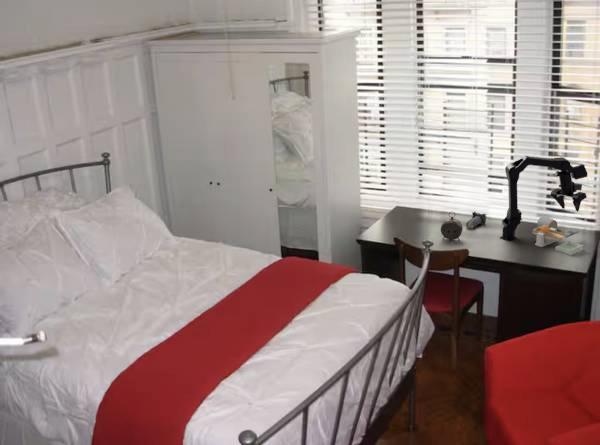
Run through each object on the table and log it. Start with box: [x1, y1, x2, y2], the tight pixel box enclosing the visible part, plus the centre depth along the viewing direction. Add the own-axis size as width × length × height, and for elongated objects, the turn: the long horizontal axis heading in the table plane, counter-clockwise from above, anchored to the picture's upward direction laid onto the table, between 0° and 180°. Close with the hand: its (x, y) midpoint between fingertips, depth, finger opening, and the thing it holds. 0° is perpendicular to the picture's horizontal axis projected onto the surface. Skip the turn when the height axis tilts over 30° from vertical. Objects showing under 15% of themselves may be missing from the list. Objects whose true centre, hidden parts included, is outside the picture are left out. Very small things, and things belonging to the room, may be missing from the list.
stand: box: [534, 228, 557, 248], centre depth 357 cm, size 12×4×6 cm, turn 126°
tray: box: [554, 240, 584, 257], centre depth 347 cm, size 10×9×3 cm
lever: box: [531, 227, 579, 242], centre depth 359 cm, size 18×15×5 cm
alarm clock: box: [440, 211, 464, 242], centre depth 365 cm, size 11×5×16 cm, turn 71°
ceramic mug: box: [536, 215, 559, 230], centre depth 373 cm, size 11×8×8 cm
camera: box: [465, 211, 487, 230], centre depth 385 cm, size 9×8×12 cm
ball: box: [541, 225, 549, 233], centre depth 356 cm, size 4×4×4 cm
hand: (570, 209), depth 361 cm, fingers open, 9 cm apart
